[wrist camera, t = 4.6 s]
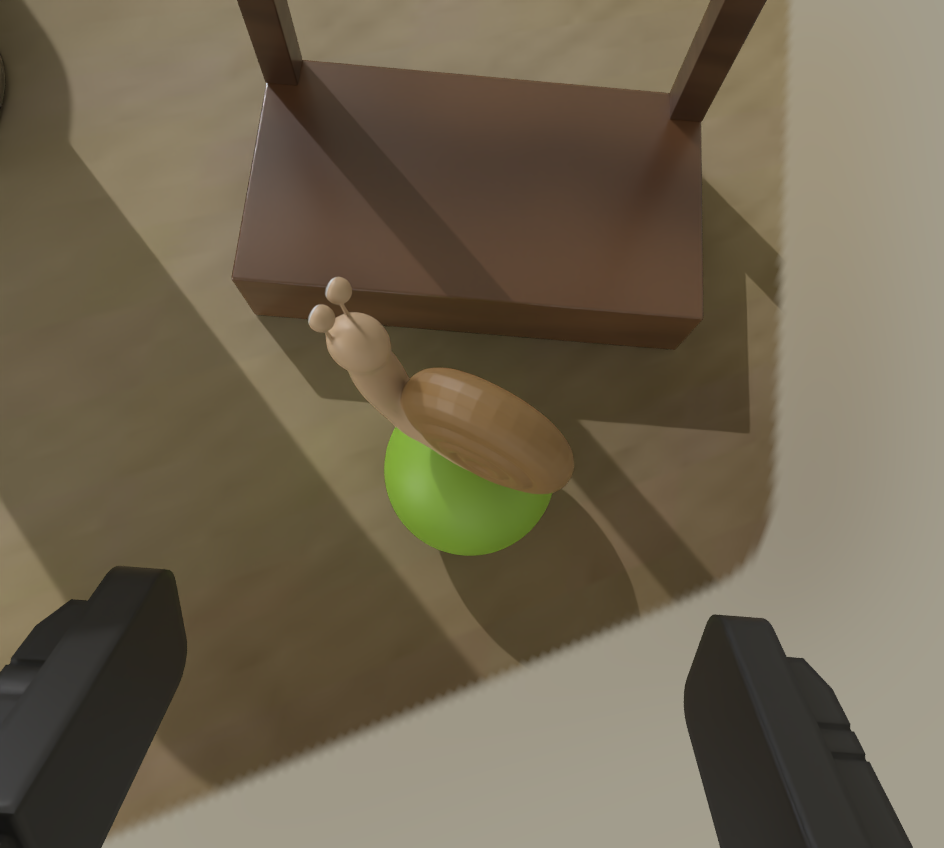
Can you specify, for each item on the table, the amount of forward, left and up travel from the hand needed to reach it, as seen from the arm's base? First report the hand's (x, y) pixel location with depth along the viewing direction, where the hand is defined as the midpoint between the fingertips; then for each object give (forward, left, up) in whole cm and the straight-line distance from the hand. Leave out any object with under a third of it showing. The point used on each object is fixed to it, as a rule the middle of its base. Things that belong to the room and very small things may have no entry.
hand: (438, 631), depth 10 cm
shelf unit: (-13, +7, -13) cm, 20 cm away
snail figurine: (-4, +2, -14) cm, 14 cm away
